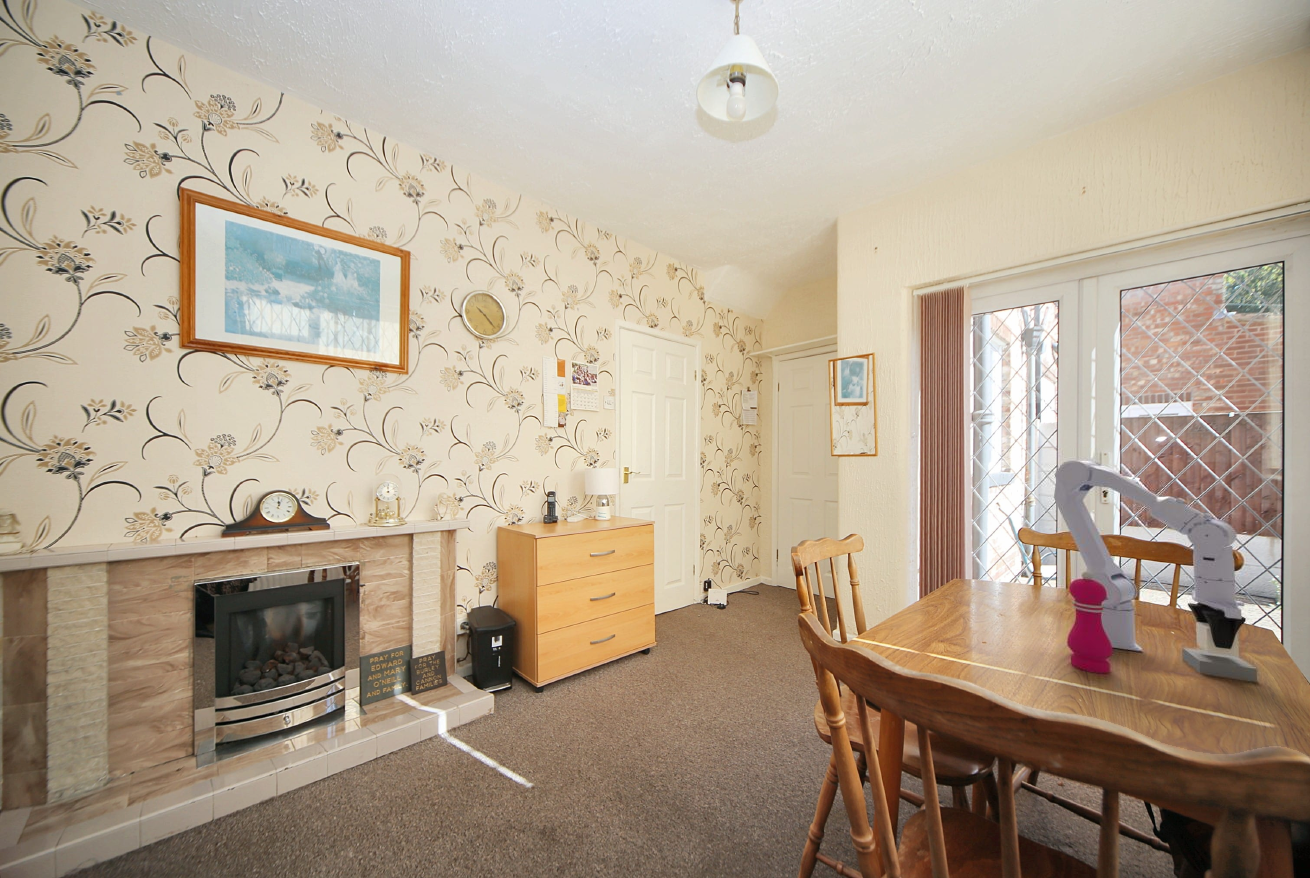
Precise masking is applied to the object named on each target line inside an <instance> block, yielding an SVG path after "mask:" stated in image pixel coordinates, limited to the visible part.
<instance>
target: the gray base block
mask: <svg viewBox="0 0 1310 878" xmlns="http://www.w3.org/2000/svg"><path fill="white" fill-rule="evenodd" d="M1181 649H1182V650H1181V653H1182V661H1184V662H1185V663H1186V664H1187V665H1189V666H1190V667H1191V668H1192V669H1194V670H1195V671H1196V672H1197V673H1199V674H1202V675H1207V676H1214V677H1219V678H1227V679H1234V680H1240V681H1245V682H1246V681H1247V682H1252V681H1253V683H1258V670H1257V668H1256V667H1254V666H1253V665H1251V664H1250V663H1248V662H1247V661H1245V660H1243V658H1241V657H1240V656H1239V657H1237V656H1229V655H1222V654H1215V653H1207V652H1206V651H1205V650H1203V649H1196V648H1188V647H1182V648H1181Z"/></svg>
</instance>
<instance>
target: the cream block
mask: <svg viewBox="0 0 1310 878" xmlns="http://www.w3.org/2000/svg"><path fill="white" fill-rule="evenodd" d="M1195 631H1196V635H1195V636H1196V646H1197V647H1199V648H1200V649H1201V650H1204V651H1206V652H1207V653H1215V654H1222V655H1229V656H1237V657H1239V658H1240V651H1239V650H1240V649H1239V647H1240V646H1239V631H1237V633H1236V636H1235V639H1234V642H1233V645H1232V648H1231V649H1225V648H1218V647H1216V646H1215V644H1214V642H1213V638H1212V633H1211V629H1210V626H1209V623H1202V622H1197V621H1195Z"/></svg>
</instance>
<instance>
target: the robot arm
mask: <svg viewBox="0 0 1310 878" xmlns="http://www.w3.org/2000/svg"><path fill="white" fill-rule="evenodd" d="M1054 478H1055V487H1054V494H1053V499H1054V501H1055V504H1056V506H1057V508H1058V510H1059V511H1060V514H1061V516H1062V519H1063V521H1064V523H1065V524H1066V527H1067V529H1068V531H1069V532H1070V535H1071V537H1072V538H1073V541H1074V543H1075V545H1076V547H1077V550H1078V552H1079V553H1080V556H1081V558H1082V559H1083V562H1084V564H1085V567H1086V571H1085V572H1090V573H1091V574H1092V575H1093V578H1092V579H1091V580H1095V581H1097V582H1099V583H1100V584H1102V585H1103V586H1104V587H1105V589H1106V593H1107V597H1106V599H1105V600H1104V601H1103V602H1102V603H1101V604H1103V605H1104V607H1103V609H1104V612H1102V614H1101V620H1102V625H1103V628H1104V631H1105V633H1106V635H1107V636H1108V638H1109V640H1110V642H1111V645H1112V649H1113V648H1115V649H1121V650H1129V651H1134V652H1135V651H1137V652H1143V651H1144V650H1143V648H1142V647H1140V646H1139V645H1138V644H1137V643H1136V633H1135V632H1136V631H1135V629H1136V627H1135V606H1134V605H1133V603H1132V601H1133V600H1135V598H1137V596H1138V589H1137V588H1138V587H1137V585H1136V584H1135V583H1134V581H1132V580H1131V579H1130V578H1128V576H1127V575H1126V574H1125V573H1124V570H1123V569H1122V568H1121V567H1120V566H1119V565H1117V564H1116V562H1114V560H1113V557H1112V556H1111V554H1110V552H1109V550H1108V548H1107V545H1106V543H1105V542H1104V540H1103V538H1102V535H1101V533H1100V532H1099V530H1098V528H1097V526H1096V523H1095V522H1094V520H1093V518H1092V516H1091V513H1090V512H1089V510H1088V508H1087V506H1086V505H1085V502H1084V499H1085V497H1086V496H1087V494H1088V493H1089V492H1090V490H1091V489H1093V488H1095V487H1101V488H1109V489H1111V490H1113V491H1115V492H1116V493H1119V494H1121V495H1123V496H1125V497H1126V498H1128V499H1130V500H1132V501H1134V502H1136V503H1138V504H1140V505H1142V506H1144V507H1145V508H1147V510H1148V512H1149V515H1150V517H1152V518H1153V519H1155V520H1157V521H1159V522H1160V523H1163V524H1164V525H1166V526H1167V527H1169V528H1171V529H1173V530H1175V531H1177V532H1178V533H1180V534H1181V535H1184V536H1185V535H1186V537H1187V539H1188V540H1189V542H1190V543H1191V544H1192V545H1193V547H1192V548H1193V554H1192V561H1193V564H1192V566H1193V583H1194V585H1193V586H1194V587H1193V589H1194V590H1191V600H1192V601H1194V602H1197V603H1191V602H1190V603H1187V607H1188V608H1189V609H1190V611H1191V612H1192V614H1193V615H1194V618H1195V620H1196V622H1202V623H1209V626H1210V629H1211V633H1212V638H1213V642H1214V644H1215V646H1216V647H1218V648H1225V649H1231V648H1232V645H1233V642H1234V639H1235V636H1236V633H1237V632H1239V630H1240V628H1241V627H1242V626H1243V624H1245V623H1246V620H1247V619H1246V617H1245V616H1242V609H1241V608H1239V607H1245V602H1243V601H1241V600H1236V597H1237V596H1236V577H1235V576H1236V574H1235V558H1234V550H1233V549H1234V548H1233V545H1232V544H1234V542H1235V541H1236V539H1237V535H1238V534H1237V532H1236V530H1235V528H1234V527H1233V526H1231V525H1230V524H1228V523H1227V521H1226V520H1223V519H1218V518H1217V519H1216V518H1213V515H1212V514H1210V513H1208V512H1206V513H1203V512H1201V511H1200V510H1198V509H1195V508H1194V507H1192V506H1190V505H1188V504H1186V503H1187V500H1185V499H1183V498H1182V497H1173V496H1159V495H1157V494H1155V493H1154V492H1152V491H1151V490H1149V489H1147V488H1146V487H1144V486H1142V485H1140V484H1139V483H1137V482H1136V481H1134V480H1132V479H1130V478H1128V477H1126V476H1125V475H1123V474H1121V473H1120V472H1118V471H1116V470H1114V469H1112V468H1111V467H1109V466H1106V465H1102V464H1101V463H1100V462H1098V461H1096V460H1091V459H1089V460H1088V459H1086V460H1075V459H1073V460H1072V459H1071V460H1067V461H1064V462H1063V463H1061V465H1060V466H1059V467H1058V468H1057V470H1056V471H1055V473H1054Z"/></svg>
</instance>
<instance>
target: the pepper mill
mask: <svg viewBox="0 0 1310 878" xmlns="http://www.w3.org/2000/svg"><path fill="white" fill-rule="evenodd" d="M1092 578H1093V575H1092V574H1091V573H1090V572H1086V571H1084V572H1082V573H1081V578H1077V579H1074V580H1073V581H1071V583H1070V584H1069V589H1068V590H1069V594H1070V595H1071V596H1072V598H1073V600H1072V603H1073V605H1072V607H1073V608H1074V610H1075V620H1074V623H1073V625H1072V627H1071V629H1070V631H1069V632H1068V635H1067V642H1066V643H1067V646H1068V649H1069V650H1070V651H1071V652H1072V653H1071V654H1070V664H1071V665H1072V666H1073V667H1075V668H1077V669H1079V670H1083V671H1086V672H1090V673H1095V674H1108V673H1110V672H1111V663H1110V661H1108V660H1107V659H1109V658H1110V657H1111V656H1113V653H1114V651H1113V647H1112V645H1111V642H1110V640H1109V638H1108V636H1107V635H1106V633H1105V631H1104V628H1103V625H1102V620H1101V614H1102V612H1104V609H1103V607H1104V605H1103V604H1101V603H1102V602H1103V601H1104V600H1105V599H1106V597H1107V593H1106V589H1105V587H1104V586H1103V585H1102V584H1100V583H1099V582H1097V581H1095V580H1091V579H1092Z"/></svg>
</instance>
